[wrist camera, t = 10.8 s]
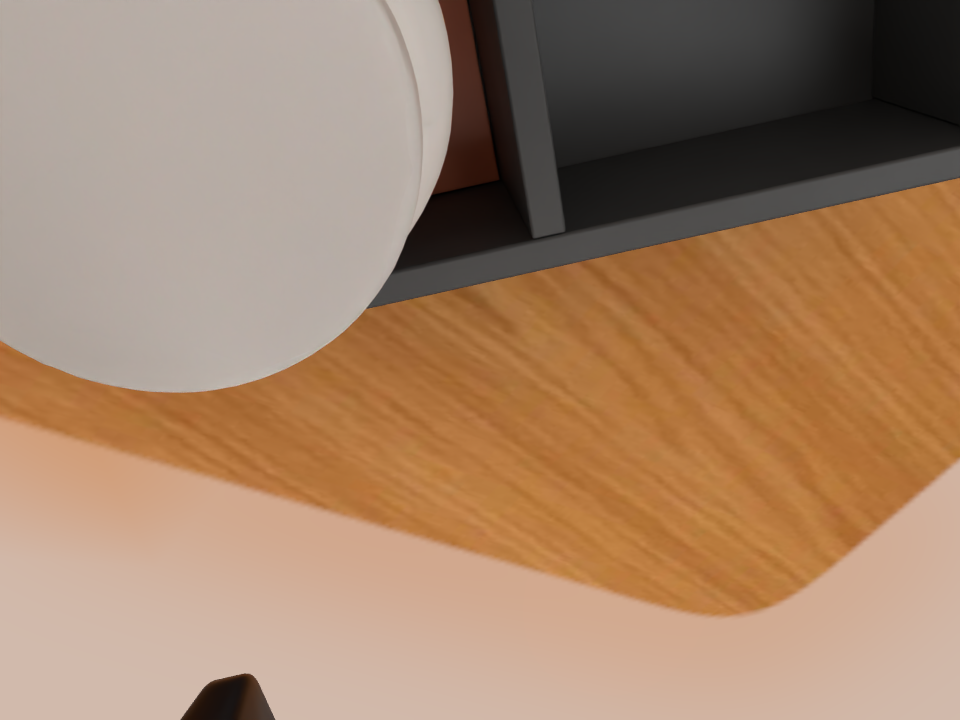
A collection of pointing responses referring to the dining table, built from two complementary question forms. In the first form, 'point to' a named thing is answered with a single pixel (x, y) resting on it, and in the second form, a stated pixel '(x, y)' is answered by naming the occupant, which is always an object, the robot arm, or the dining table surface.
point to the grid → (673, 124)
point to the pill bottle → (209, 178)
